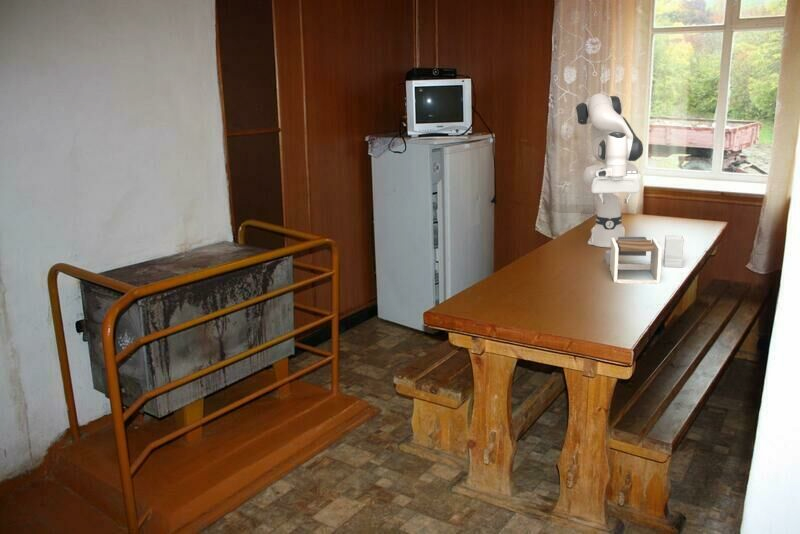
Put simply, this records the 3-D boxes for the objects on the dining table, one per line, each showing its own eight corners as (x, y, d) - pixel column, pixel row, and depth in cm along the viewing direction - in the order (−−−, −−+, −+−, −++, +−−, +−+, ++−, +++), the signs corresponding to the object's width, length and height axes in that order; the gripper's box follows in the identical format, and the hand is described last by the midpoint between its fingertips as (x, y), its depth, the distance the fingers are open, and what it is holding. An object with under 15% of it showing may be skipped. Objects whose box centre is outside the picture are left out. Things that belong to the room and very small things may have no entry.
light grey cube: (605, 261, 311) (605, 250, 310) (617, 261, 311) (617, 250, 309) (606, 264, 307) (606, 253, 305) (618, 264, 306) (618, 253, 304)
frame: (609, 268, 300) (610, 237, 296) (652, 269, 296) (654, 237, 292) (614, 283, 281) (615, 249, 277) (660, 283, 277) (662, 249, 273)
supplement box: (681, 263, 303) (683, 235, 300) (682, 268, 296) (684, 239, 293) (663, 262, 305) (665, 234, 302) (663, 267, 299) (665, 238, 295)
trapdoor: (613, 252, 300) (614, 236, 298) (648, 252, 297) (649, 236, 295) (618, 265, 281) (619, 248, 279) (655, 265, 279) (656, 248, 277)
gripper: (640, 169, 298) (638, 201, 302) (591, 170, 302) (590, 202, 306) (642, 171, 292) (640, 204, 296) (592, 172, 296) (591, 204, 300)
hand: (614, 203), depth 301 cm, fingers open, 8 cm apart
